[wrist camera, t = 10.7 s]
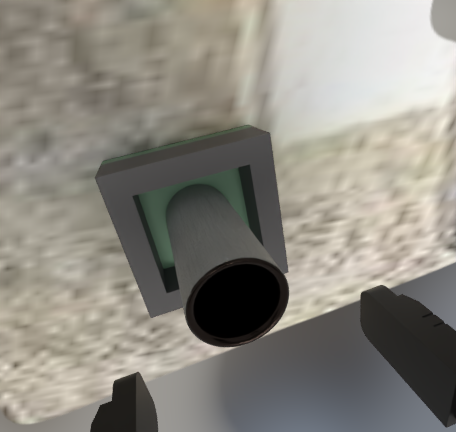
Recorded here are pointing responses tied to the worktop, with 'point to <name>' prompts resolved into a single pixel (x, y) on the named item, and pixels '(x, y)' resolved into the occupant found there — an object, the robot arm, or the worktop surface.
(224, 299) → the dark grey cylinder
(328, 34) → the worktop surface
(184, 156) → the socket board
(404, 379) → the robot arm
